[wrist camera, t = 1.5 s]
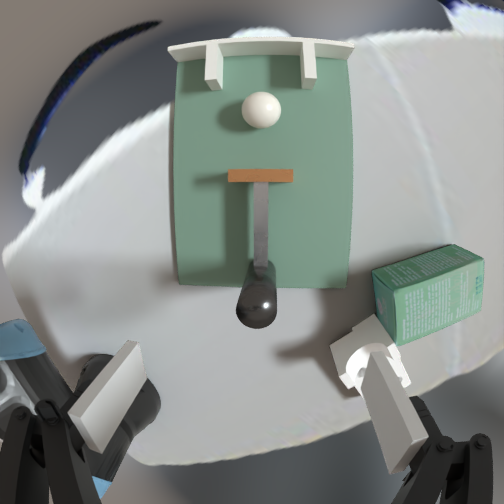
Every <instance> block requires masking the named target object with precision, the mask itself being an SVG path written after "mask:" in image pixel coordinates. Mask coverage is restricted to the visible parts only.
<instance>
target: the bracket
mask: <svg viewBox="0 0 504 504" xmlns="http://www.w3.org/2000/svg"><path fill="white" fill-rule="evenodd" d="M352 330H353V331H352V332H350V333H349V334H347V335H346V336H344V337H342V338H341V339H339V340H337V341H336V342H334V343H332V344H331V345H330V349H331V352H332V355H333V358H334V362H335V365H336V368H337V372H338V375H339V377H340V379H341V380H342V381H343V383H344V384H345V385H346V387H347V388H348V389H350V388H351V387H353V386H355V388H356V389H357V390H358V392H359V393H360V394H361V396H362V397H363V394H362V391H361V385H362V381H363V378H364V374H365V371H366V367H367V364H368V360H369V356H370V352H377V351H383V352H384V354H385V356H386V358H387V359H388V361H389V363H390V365H391V366H392V368H393V370H394V372H395V373H396V375H397V377H398V379H399V381H400V382H401V384H402V386H403V388H405V387H407V386H408V385H410V384H411V381H410V379H409V377H408V375H407V373H406V371H405V369H404V367H403V364H402V362H401V360H400V357H401V355H400V353H399V351H398V349H397V347H396V345H395V343H394V341H393V340H392V339H391V337H390V336H389V334H388V333H387V331H386V330H385V328H384V327H383V325H382V324H381V323H380V321H379V320H378V318H377V317H376V316H375V314H373V315H371V316H370V317H368V318H367V319H365V320H364V321H362V322H361V323H359V324H357V325H356V326H354V327H353V328H352ZM363 399H364V397H363ZM364 400H365V399H364Z"/></svg>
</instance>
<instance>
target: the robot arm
mask: <svg viewBox="0 0 504 504" xmlns="http://www.w3.org/2000/svg"><path fill="white" fill-rule="evenodd" d="M46 350H47V349H46V347H45V346H44V345H42V343H41V341H40V340H39V338H38V336H37V335H36V333H35V331H34V330H33V328H32V326H31V325H30V324H29V323H28V322H27V321H25V320H22V319H16V320H11V321H8V322H5V323H2V324H0V441H1V442H3V443H2V447H1V451H0V504H49V486H50V491H51V495H52V499H53V503H54V504H102V503H101V500H100V498H102V496H103V495H104V494H105V492H106V490H107V489H108V487H109V485H111V484H112V481H113V479H114V477H115V475H116V472H117V470H118V468H119V466H120V464H121V462H122V460H123V458H124V456H125V454H126V452H127V450H128V448H129V446H130V444H131V442H132V440H133V438H134V437H135V436H136V435H137V434H138V433H140V432H141V431H142V430H143V429H144V428H145V427H147V426H148V425H149V424H150V423H152V422H153V421H154V420H155V418H156V416H157V414H158V412H159V410H160V407H161V401H160V397H159V394H158V392H157V390H156V388H155V387H154V385H153V384H152V383H151V382H150V380H149V379H148V378H147V374H146V371H145V367H144V363H143V358H142V354H141V350H140V345H139V342H134V341H127V342H126V343H125V344H124V345H123V347H122V348H121V349H120V350H119V351H118V352H117V354H116V355H115V356H110V355H97V356H94V357H92V358H91V359H90V360H89V361H88V362H87V363H86V364H85V366H84V367H83V369H82V372H81V376H80V378H79V380H78V383H77V386H76V389H75V392H74V393H73V392H72V391H71V389H70V388H69V386H68V385H67V384H66V382H65V381H64V379H63V378H62V376H61V375H60V373H59V371H58V370H57V368H56V367H55V365H54V363H53V362H52V360H51V359H50V357H49V355H48V353H47V352H46ZM361 391H362V394H363V397H364V399H365V402H366V405H367V408H368V410H369V413H370V416H371V419H372V422H373V425H374V428H375V431H376V434H377V437H378V440H379V443H380V446H381V448H382V452H383V455H384V458H385V462H386V465H387V468H388V471H389V474H393V473H397V472H401V471H404V470H405V469H406V467H407V466H408V465H410V468H411V471H410V472H409V473H408V474H407V476H406V477H405V478H404V479H403V481H404V483H403V485H402V486H401V488H400V490H399V492H398V493H397V495H396V497H395V498H394V500H393V502H392V503H391V504H435V503H436V501H437V499H438V497H439V494H440V492H441V490H442V492H441V498H440V504H492V499H493V460H492V447H491V441H490V439H489V437H488V436H486V435H485V434H481V433H479V434H476V435H474V436H472V438H471V439H470V441H466V442H454V441H453V440H452V438H450V437H448V436H443V435H442V434H441V432H440V430H439V428H438V426H437V424H436V423H435V421H434V419H433V417H432V416H431V414H430V412H429V410H427V407H426V405H425V403H424V401H423V400H421V399H420V398H419V397H418V396H413V397H408V395H407V393H406V391H405V390H404V388H403V386H402V384H401V382H400V381H399V379H398V377H397V375H396V373H395V372H394V370H393V368H392V366H391V365H390V363H389V361H388V359H387V358H386V356H385V354H384V352H383V351H377V352H370V356H369V360H368V364H367V367H366V371H365V374H364V378H363V381H362V385H361Z"/></svg>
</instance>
